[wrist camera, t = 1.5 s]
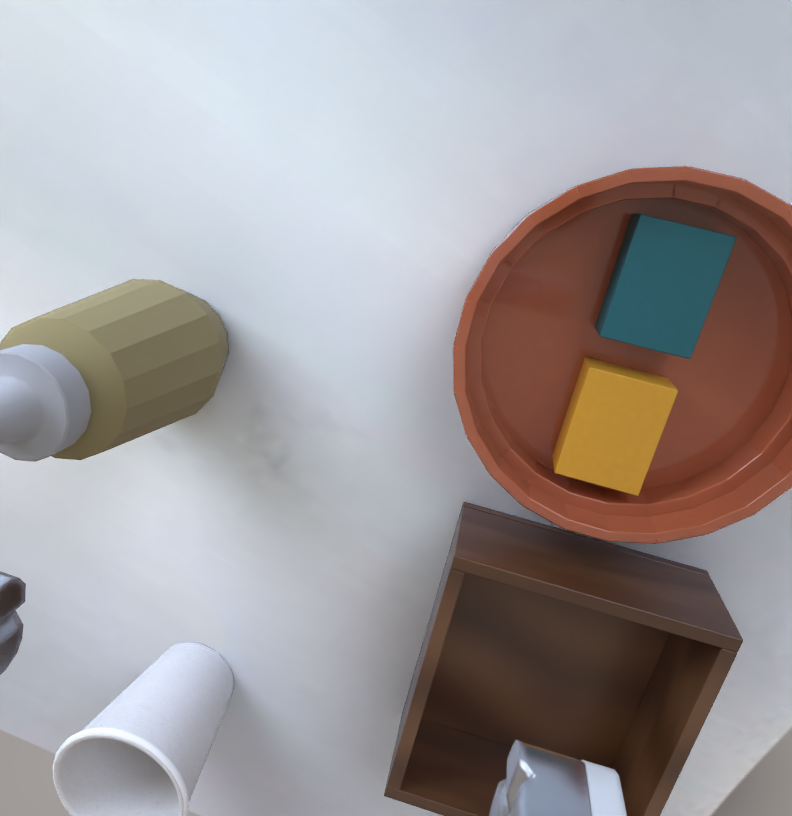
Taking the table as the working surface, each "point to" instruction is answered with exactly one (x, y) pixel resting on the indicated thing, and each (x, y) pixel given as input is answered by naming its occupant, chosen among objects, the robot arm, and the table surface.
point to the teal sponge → (663, 285)
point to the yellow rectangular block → (613, 425)
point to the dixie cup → (148, 739)
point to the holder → (558, 664)
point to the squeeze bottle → (107, 370)
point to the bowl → (634, 357)
